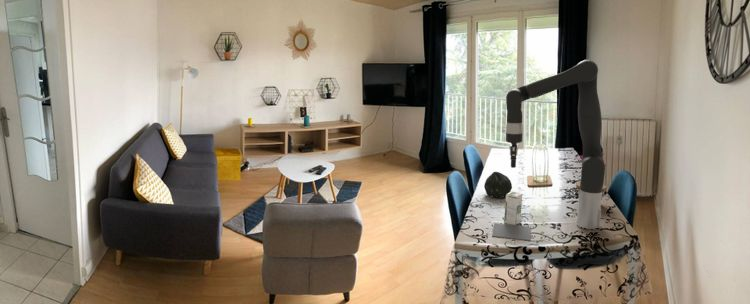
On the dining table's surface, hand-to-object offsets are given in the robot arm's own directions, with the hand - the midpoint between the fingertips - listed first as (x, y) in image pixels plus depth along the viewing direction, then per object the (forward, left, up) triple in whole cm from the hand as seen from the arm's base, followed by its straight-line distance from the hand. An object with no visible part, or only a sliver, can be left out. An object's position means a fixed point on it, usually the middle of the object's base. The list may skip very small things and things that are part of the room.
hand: (513, 165), depth 223 cm
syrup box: (-1, +9, -26) cm, 27 cm away
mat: (-1, +21, -26) cm, 33 cm away
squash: (+8, -29, -26) cm, 40 cm away
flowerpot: (-39, -28, -26) cm, 54 cm away
